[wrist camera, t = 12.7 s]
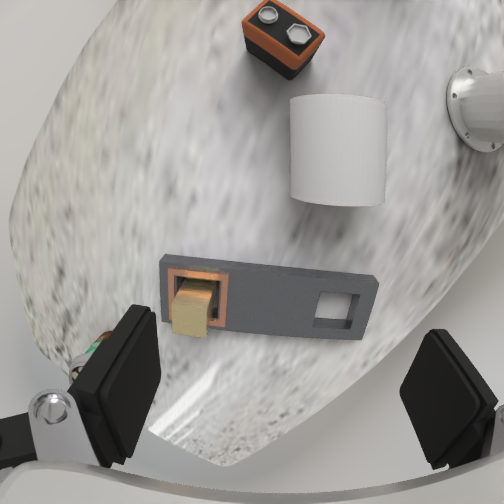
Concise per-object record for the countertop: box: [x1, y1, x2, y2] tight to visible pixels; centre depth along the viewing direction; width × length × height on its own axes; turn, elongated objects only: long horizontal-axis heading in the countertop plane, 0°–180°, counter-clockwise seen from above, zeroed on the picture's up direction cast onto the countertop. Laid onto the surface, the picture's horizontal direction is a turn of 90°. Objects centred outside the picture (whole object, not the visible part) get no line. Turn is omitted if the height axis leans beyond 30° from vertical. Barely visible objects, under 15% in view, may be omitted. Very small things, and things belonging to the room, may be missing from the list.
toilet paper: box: [290, 94, 387, 206], centre depth 29 cm, size 10×10×10 cm
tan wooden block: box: [171, 277, 217, 338], centre depth 37 cm, size 4×4×8 cm
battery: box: [242, 0, 325, 80], centre depth 25 cm, size 4×7×10 cm, turn 51°
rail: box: [159, 254, 379, 340], centre depth 39 cm, size 28×9×3 cm, turn 84°
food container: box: [69, 331, 112, 385], centre depth 40 cm, size 12×6×10 cm, turn 145°
